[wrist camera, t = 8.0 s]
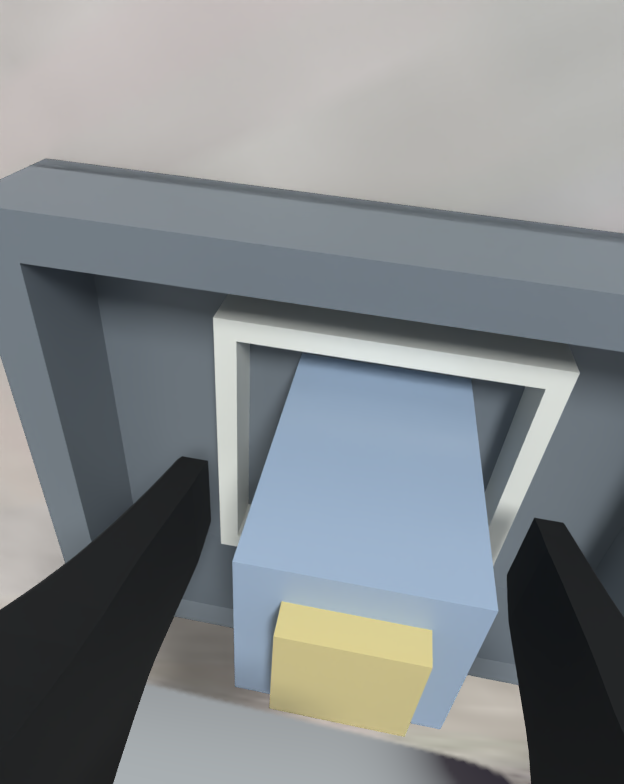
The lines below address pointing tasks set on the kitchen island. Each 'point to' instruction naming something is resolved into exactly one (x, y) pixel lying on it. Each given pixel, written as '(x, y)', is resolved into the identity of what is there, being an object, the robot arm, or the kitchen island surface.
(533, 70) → the kitchen island surface
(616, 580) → the dock
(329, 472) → the plug
